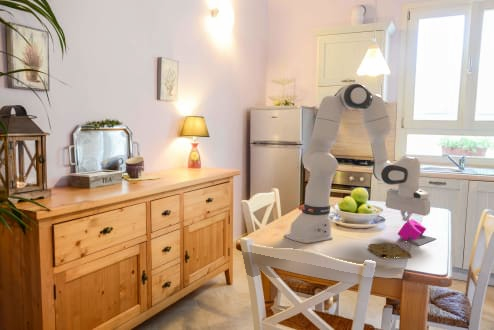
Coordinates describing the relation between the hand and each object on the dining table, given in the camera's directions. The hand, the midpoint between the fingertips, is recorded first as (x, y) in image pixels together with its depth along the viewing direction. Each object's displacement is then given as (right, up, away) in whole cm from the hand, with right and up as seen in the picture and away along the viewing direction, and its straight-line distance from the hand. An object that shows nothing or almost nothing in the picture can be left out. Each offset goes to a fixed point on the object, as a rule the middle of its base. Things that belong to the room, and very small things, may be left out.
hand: (405, 220), depth 184 cm
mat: (+4, -8, -5) cm, 10 cm away
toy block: (-1, -2, 0) cm, 2 cm away
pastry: (-15, -11, -21) cm, 28 cm away
